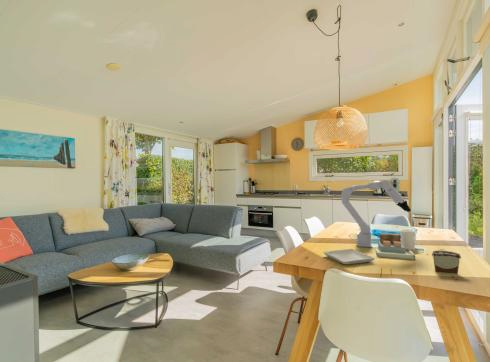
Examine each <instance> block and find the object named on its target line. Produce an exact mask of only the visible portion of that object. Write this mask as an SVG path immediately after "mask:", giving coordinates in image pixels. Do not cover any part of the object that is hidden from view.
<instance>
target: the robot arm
mask: <svg viewBox="0 0 490 362" xmlns="http://www.w3.org/2000/svg"><path fill="white" fill-rule="evenodd" d="M366 189H370V191H373V190H381V189H384V191H385V192H386V194H387V195H388V196H389V197H390V198H391V199H392V201H393V202H394V204H396V206H398V207H399V208H401V209H402V210H403V211H404V212H407V213H410V212H411V211H412V210H411V208H410V206H409V204H408V201H407V200H404V198H405V196H402V194H400V193H399V191H397V189H396V188H395V187H394V186H393V185H392V184H391V182H390V181H389V180H387V179H379V180H371V181H369V182H368V183H364V184H356V185H350V186H348V187H344V188H343V189H342V191H341V194H340V195H341V204H342V205H343V206H344V207H345V209H346V210H347V211H348V213H349V214H350V216H351V217H352V219H354V220H355V222H356V223H357V224H358V227H359V228H360V231H359V232H357V233H356V245H357V247H361V248H362V247H363V248H373V246H372V233H371V225H370V224H369V223H367V222H366V221H365V220H364V218H362V216H361V215H360V214H359V212H358V210H357V209H356V208H355V207H354V206H353V204H352V203H351V202H350V197H351V195H352V193H354V192H357V191H359V190H366Z"/></svg>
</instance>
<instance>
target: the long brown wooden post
mask: <svg viewBox="0 0 490 362" xmlns="http://www.w3.org/2000/svg"><path fill="white" fill-rule="evenodd" d="M383 241H390V242H391V244H393V241H398V242H401V233H383V232H382V233H379V242H380V243H383Z"/></svg>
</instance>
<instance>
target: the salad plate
mask: <svg viewBox="0 0 490 362" xmlns="http://www.w3.org/2000/svg"><path fill="white" fill-rule="evenodd" d="M323 255H325V256H327V257H328V258H330V259H331V260H332V259H333V260H334V261H336V262H339V263H341V264H342V265H356V264H364V263H370V262H373V261H374V260H375V257H374V256H371V255H368V254H366V253H363V252H361V251H359V250H357V249H356V250H355V249H353V248H347V249H346V248H345V249H338V250H337V249H336V250H329V251H328V250H327V251H323Z"/></svg>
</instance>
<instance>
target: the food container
mask: <svg viewBox="0 0 490 362" xmlns="http://www.w3.org/2000/svg"><path fill="white" fill-rule="evenodd" d="M431 257H433V265H434V272H435V273H438V274H439V273H441V274H450V275H459V268H460V267H459V266H460V259H462V256H461V254H460V253H457V252H454V251H448V250H433V251H432V253H431Z"/></svg>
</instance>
